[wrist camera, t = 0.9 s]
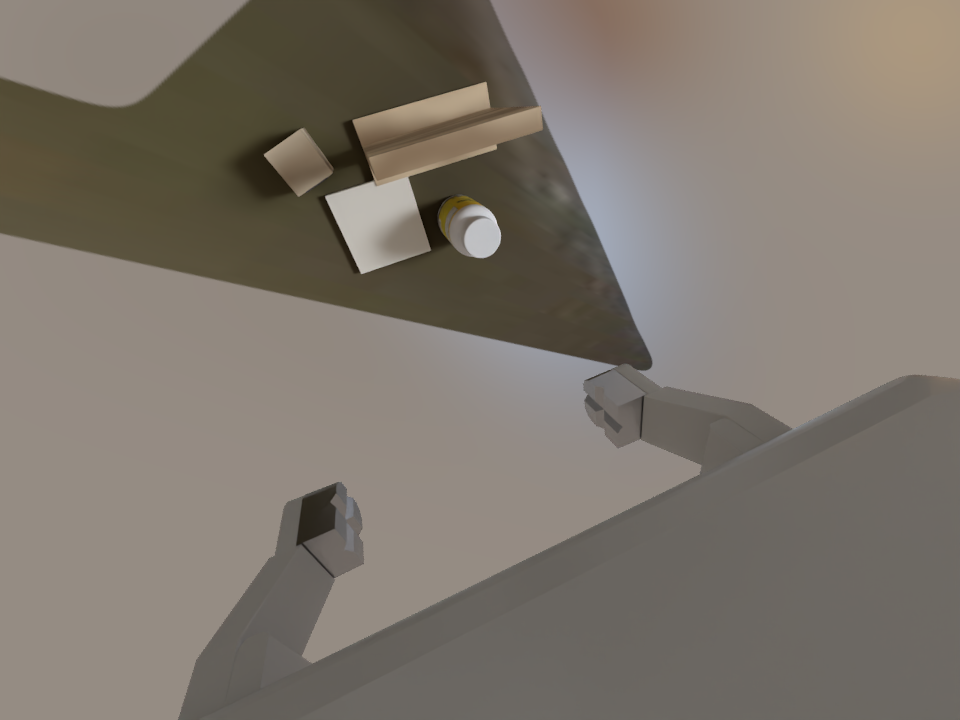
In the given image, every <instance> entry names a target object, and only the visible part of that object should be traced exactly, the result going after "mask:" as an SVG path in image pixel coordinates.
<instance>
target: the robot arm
mask: <svg viewBox="0 0 960 720" xmlns="http://www.w3.org/2000/svg"><path fill="white" fill-rule="evenodd" d="M583 385H584V391H585V392H586V393H587V394H588V395H587V397H586V399H585V408H586V411H587V413H588V416H589V417H590V419H591V420H592V421H593V422H594V424H595V425H596V426H598V427H601V428H605V435H606V437H607V438H608V439H610V441H611V442H612V443H613V444H614V445H615V446H616V447H617V448H620V447H623V446H625V445H627V444H630V443H632V442H635V441H637V440H639V439H641V440H643V441H645V442H647V443H650V444H652V445H655V446H657V447H659V448H662V449H664V450H667V451H669V452H671V453H674V454H677V455H679V456H681V457H684V458H686V459H689V460H691V461H693V462H696V463H698V464H701V465H702V467H701V471H700V475H698V476H696V477H694V478H692V479H690V480H688V481H686V482H683V483H681V484H679V485H677V486H676V487H673V488H672V489H669V490H667V491H665V492H663V493H661V494H659V495H657V496H655V497H653V498H651V499H649V500H647V501H645V502H643V503H640V504H639V505H637V506H634V507H632V508H630V509H628V510H626V511H624V512H622V513H620V514H618V515H616V516H614V517H612V518H610V519H608V520H606V521H604V522H602V523H600V524H598V525H596V526H593V527H591V528H590V529H587V530H585V531H583V532H581V533H579V534H577V535H575V536H573V537H571V538H569V539H567V540H565V541H563V542H561V543H559V544H557V545H555V546H553V547H551V548H548V549H546V550H544V551H542V552H540V553H538V554H536V555H535V556H532V557H530V558H528V559H526V560H524V561H522V562H520V563H518V564H516V565H514V566H512V567H510V568H508V569H506V570H503V571H501V572H500V573H497V574H495V575H493V576H491V577H489V578H487V579H485V580H483V581H481V582H479V583H477V584H475V585H473V586H471V587H469V588H467V589H465V590H463V591H461V592H459V593H456V594H455V595H452V596H451V597H448V598H447V599H444V600H442V601H440V602H438V603H436V604H434V605H432V606H430V607H428V608H426V609H424V610H422V611H420V612H418V613H415V614H413V615H411V616H409V617H407V618H405V619H403V620H401V621H399V622H397V623H395V624H393V625H391V626H389V627H387V628H385V629H383V630H381V631H379V632H377V633H374V634H373V635H370V636H368V637H366V638H364V639H362V640H360V641H358V642H356V643H354V644H352V645H350V646H348V647H346V648H344V649H342V650H340V651H338V652H336V653H334V654H331V655H329V656H327V657H325V658H323V659H321V660H319V661H318V662H315V663H313V664H312V663H311V662H309V661H307V660H306V659H305V658H303V657H302V654H303V652H304V649H305V647H306V644H307V642H308V640H309V638H310V635H311V633H312V631H313V629H314V626H315V624H316V622H317V620H318V617H319V615H320V613H321V610H322V608H323V606H324V604H325V601H326V599H327V597H328V594H329V592H330V590H331V587H332V585H333V583H334V581H335V580H334V578H336V577H338V576H340V575H342V574H344V573H346V572H348V571H350V570H352V569H354V568H356V567H358V566H360V565H362V564H364V556H363V542H362V540H361V539H360V537H359V534H360V532H361V530H362V518H361V514H360V510H359V508H358V506H357V503H356V502H355V500H354V499H353V498H351V497H348V496H347V489H346V487H345V486H344V485H343V484H342V482H337V483H335V484H332V485H329V486H327V487H324V488H322V489H319V490H317V491H314V492H311V493H309V494H306V495H305V496H302V497H299V498H297V499H294V500H291V501H289V502H287V503H286V505H285V506H284V509H283V515H282V520H281V525H280V531H279V536H278V541H277V547H276V552H275V556H273V557H271V558H269V559H268V561H267V562H266V563H265V565H264V566H263V568H262V569H261V570H260V572H259V573H258V575H257V576H256V578H255V579H254V580H253V582H252V583H251V585H250V586H249V587H248V589H247V590H246V591H245V593H244V594H243V596H242V597H241V599H240V600H239V602H238V603H237V604H236V605H235V607H234V608H233V610H232V611H231V612H230V614H229V615H228V617H227V618H226V619H225V621H224V622H223V624H222V625H221V627H220V628H219V629H218V631H217V632H216V633H215V635H214V636H213V638H212V639H211V641H210V642H209V643H208V645H207V646H206V647H205V649H204V650H203V652H202V653H201V655H200V656H199V657H198V659H197V660H196V663H195V667H194V670H193V673H192V677H191V680H190V683H189V686H188V689H187V693H186V696H185V699H184V702H183V706H182V709H181V712H180V716H179V719H178V720H960V379H954V378H946V377H938V376H926V375H908V376H904V377H900V378H898V379H895V380H893V381H890V382H888V383H886V384H884V385H882V386H880V387H878V388H876V389H874V390H872V391H870V392H868V393H866V394H864V395H861V396H860V397H857V398H855V399H854V400H851V401H849V402H847V403H845V404H843V405H841V406H839V407H837V408H835V409H833V410H831V411H829V412H827V413H825V414H823V415H821V416H819V417H817V418H815V419H813V420H811V421H808V422H806V423H804V424H802V425H800V426H798V427H796V428H794V429H792V428H790V427H789V426H787V425H785V424H784V423H782V422H780V421H779V420H777V419H775V418H774V417H772V416H770V415H769V414H767V413H765V412H764V411H762V410H760V409H759V408H757V407H755V406H754V405H752V404H748V403H744V402H739V401H734V400H729V399H724V398H719V397H714V396H709V395H704V394H699V393H695V392H690V391H685V390H680V389H675V388H670V387H664V388H661V387H660V386H658V385H657V384H655V383H654V382H653V381H651V380H650V379H648V378H647V377H645V376H644V375H643V374H641V373H640V372H638V371H637V370H636V369H634V368H633V367H631V366H630V365H628V364H622V365H620V366H618V367H615V368H613V369H611V370H608V371H606V372H604V373H601V374H599V375H597V376H594V377H592V378H590V379H587V380H585V381H584V384H583Z"/></svg>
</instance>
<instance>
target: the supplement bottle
mask: <svg viewBox="0 0 960 720" xmlns="http://www.w3.org/2000/svg"><path fill="white" fill-rule="evenodd" d="M438 225H439V228H440V230H441V232H442V233H443V234H444V236H445V237H446V238H447V239H448V240H449V242H450V243H451V244H452V245H453V246H454V247H455V248H456V249H457V250H458V251H459V252H460V253H462V254H463V255H466V256H470V257H476V258H485V257H488V256H490V255H492V254H493V253H494V252H495V251H496V250H497V248H498V246H499V244H500V240H501V233H500V229H499V227H498V225H497V221H496V219H495V217H494V215H493V214H492V212H491V211H490V210H489V209H487V208H486V207H484V206H482V205H481V204H479V203H478V202H476V201H474V200H473V199H471V198H470V197H467V196H465V195H454V196H451V197H449V198H448V199H446V200H445V201H444V202H443V204H442V205H441V207H440V209H439V212H438Z"/></svg>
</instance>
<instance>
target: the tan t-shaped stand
mask: <svg viewBox="0 0 960 720" xmlns="http://www.w3.org/2000/svg"><path fill="white" fill-rule="evenodd" d="M352 121H353V124H354V126H355V129H356V132H357V134H358V137H359V140H360V142H361V145H362V148H363V150H364V153H365V156H366V158H367V161H368V164H369V167H370V169H371V172H372V175H373V177H374V180H375V182H376V185H377V186H380V185H383V184H386V183H389V182H392V181H396V180H399V179H402V178H405V177H408V176H412V175H415V174H418V173H421V172H425V171H428V170H431V169H434V168H437V167H441V166H444V165H447V164H450V163H454V162H457V161H460V160H463V159H466V158H470V157H473V156H476V155H479V154H482V153H486V152H489V151H492V150H495V149H497V146H496V144H499V143H502V142H505V141H508V140H512V139H515V138H518V137H521V136H525V135H528V134H531V133H534V132H538V131H541V130H543V126H542V114H541V106H529V107H505V108H490V103H489V96H488V90H487V84H486V82H484V83H480V84H476V85H473V86H469V87H466V88H462V89H459V90H455V91H452V92H448V93H445V94H441V95H438V96H434V97H431V98H427V99H424V100H420V101H417V102H413V103H410V104H406V105H403V106H399V107H396V108H392V109H389V110H385V111H382V112H378V113H375V114H371V115H368V116H364V117H361V118H357V119H354V120H352Z"/></svg>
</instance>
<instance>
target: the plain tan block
mask: <svg viewBox="0 0 960 720" xmlns="http://www.w3.org/2000/svg"><path fill="white" fill-rule="evenodd" d="M264 156H265V157H266V158H267V160H268V161H269V162H270V163H271V164H272V166H273V167H274V168H275V169H276V170H277V172H278V173H279V174H280V175H281V176H282V178H283V179H284V180H285V181H286V182H287V184H288V185H289V186H290V187H291V188H292V190H293V191H294V192H295V193H296V194H297V196H298V197H299V196H301V195H302V194H304V193H305V192H306V193H307V192H309V191H310V190H311V189H313V188H314V187H316V186H317V185H319V184H320V183H322V182H323V181H324V180H326V179H327V178H328V176H330V175H331V174H332V173H333V169H334V168H333V167H332V165H331V164H330V163H329V161H328V160H327V159H326V157H325V156H324V154H323V153H322V152H321V150H320V149H319V147H318V146H317V145H316V143H315V142H314V141H313V139H312V138H311V136H310V135H309V134H308V132H307V131H306V130H305V128H302V129H299V130H298V131H297V132H295V133H294V134H292V135H291V136H290V137H288V138H287V139H285V140H284V141H282V142H281V143H280V144H278V145H277V146H275V147H274V148H273V149H271V150H270V151H268V152H267V153H265V154H264Z"/></svg>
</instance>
